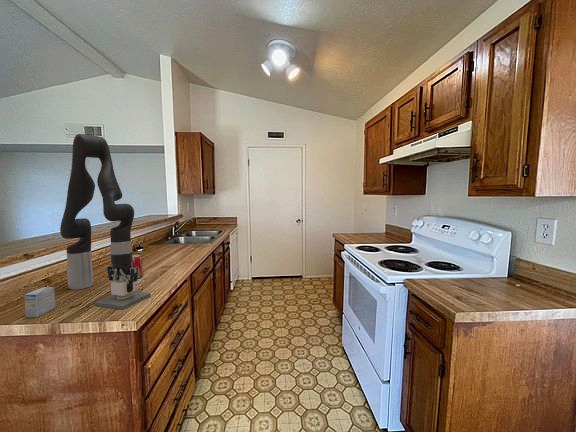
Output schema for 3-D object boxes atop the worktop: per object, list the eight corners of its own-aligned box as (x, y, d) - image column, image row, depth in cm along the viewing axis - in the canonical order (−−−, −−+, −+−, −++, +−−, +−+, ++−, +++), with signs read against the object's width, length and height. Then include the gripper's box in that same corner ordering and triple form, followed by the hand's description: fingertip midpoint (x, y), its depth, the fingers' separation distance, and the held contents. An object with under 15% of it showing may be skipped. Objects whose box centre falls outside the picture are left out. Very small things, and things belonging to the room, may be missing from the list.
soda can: (124, 279, 137) (123, 257, 136) (135, 275, 144) (134, 254, 143) (135, 280, 136) (134, 257, 134) (145, 276, 142) (144, 254, 141)
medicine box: (44, 308, 102) (42, 287, 101) (56, 307, 103) (54, 286, 102) (25, 317, 94) (23, 294, 94) (38, 317, 95) (36, 294, 94)
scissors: (145, 278, 137) (133, 292, 118) (145, 280, 137) (133, 294, 118) (123, 280, 134) (106, 294, 115) (123, 282, 134) (106, 296, 115)
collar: (111, 294, 107) (110, 282, 106) (124, 289, 113) (123, 277, 112) (122, 295, 105) (122, 283, 105) (135, 290, 111) (134, 279, 111)
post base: (95, 305, 104) (93, 281, 104) (125, 293, 118) (124, 271, 117) (122, 309, 101) (121, 285, 100) (150, 296, 114) (149, 274, 113)
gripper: (99, 252, 106) (101, 292, 107) (127, 254, 102) (129, 296, 103) (116, 249, 113) (118, 286, 114) (142, 250, 109) (144, 289, 111)
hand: (123, 290), depth 109 cm, fingers closed on collar, 6 cm apart
